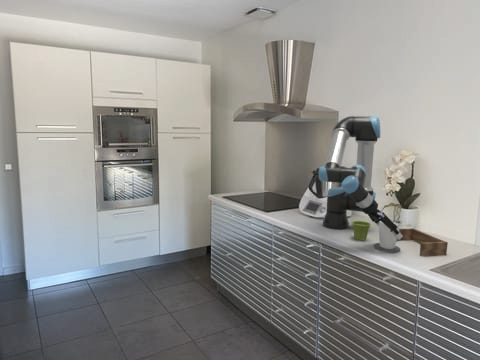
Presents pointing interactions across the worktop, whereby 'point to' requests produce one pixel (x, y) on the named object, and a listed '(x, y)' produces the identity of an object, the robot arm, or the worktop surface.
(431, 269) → the worktop surface
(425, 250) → the u-shaped wooden rail
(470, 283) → the worktop surface
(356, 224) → the plant pot
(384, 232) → the cup
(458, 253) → the worktop surface
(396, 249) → the disc
